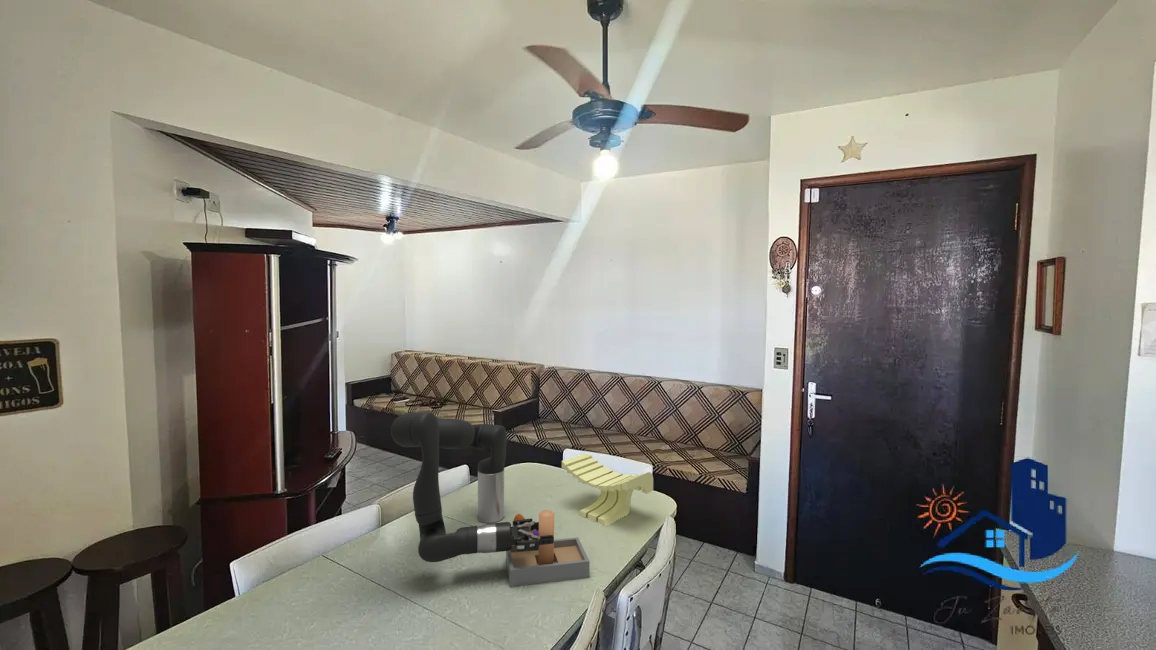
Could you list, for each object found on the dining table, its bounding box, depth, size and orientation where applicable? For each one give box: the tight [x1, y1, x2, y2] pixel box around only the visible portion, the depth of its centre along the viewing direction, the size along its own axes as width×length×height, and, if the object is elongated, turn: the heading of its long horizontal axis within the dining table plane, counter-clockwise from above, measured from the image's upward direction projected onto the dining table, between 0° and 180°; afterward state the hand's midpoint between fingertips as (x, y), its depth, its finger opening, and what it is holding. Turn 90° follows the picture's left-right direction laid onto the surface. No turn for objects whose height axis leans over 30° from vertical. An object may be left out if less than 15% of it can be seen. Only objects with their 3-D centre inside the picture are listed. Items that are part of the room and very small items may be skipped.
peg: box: [537, 510, 555, 565], centre depth 136 cm, size 4×4×16 cm
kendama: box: [513, 513, 539, 540], centre depth 156 cm, size 6×6×20 cm
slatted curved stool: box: [561, 452, 654, 527], centre depth 173 cm, size 30×16×18 cm, turn 48°
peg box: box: [505, 537, 590, 588], centre depth 137 cm, size 14×22×4 cm, turn 103°
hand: (550, 531), depth 137 cm, fingers open, 8 cm apart
